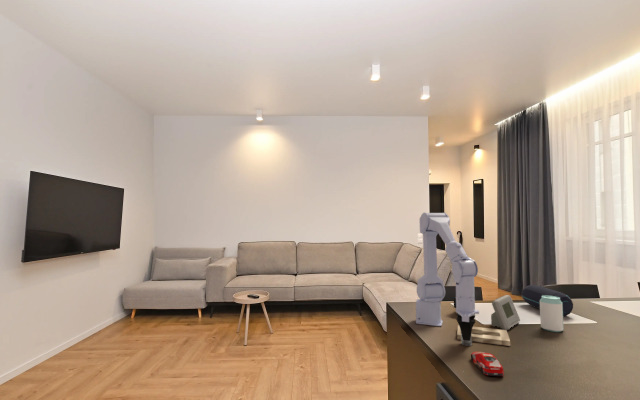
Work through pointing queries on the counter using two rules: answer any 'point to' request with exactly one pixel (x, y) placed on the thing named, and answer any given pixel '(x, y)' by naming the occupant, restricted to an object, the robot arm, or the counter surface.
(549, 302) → the can
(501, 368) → the race car
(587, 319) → the counter surface
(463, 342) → the peg
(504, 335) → the keyhole board
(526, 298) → the portable speaker
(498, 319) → the digital clock
